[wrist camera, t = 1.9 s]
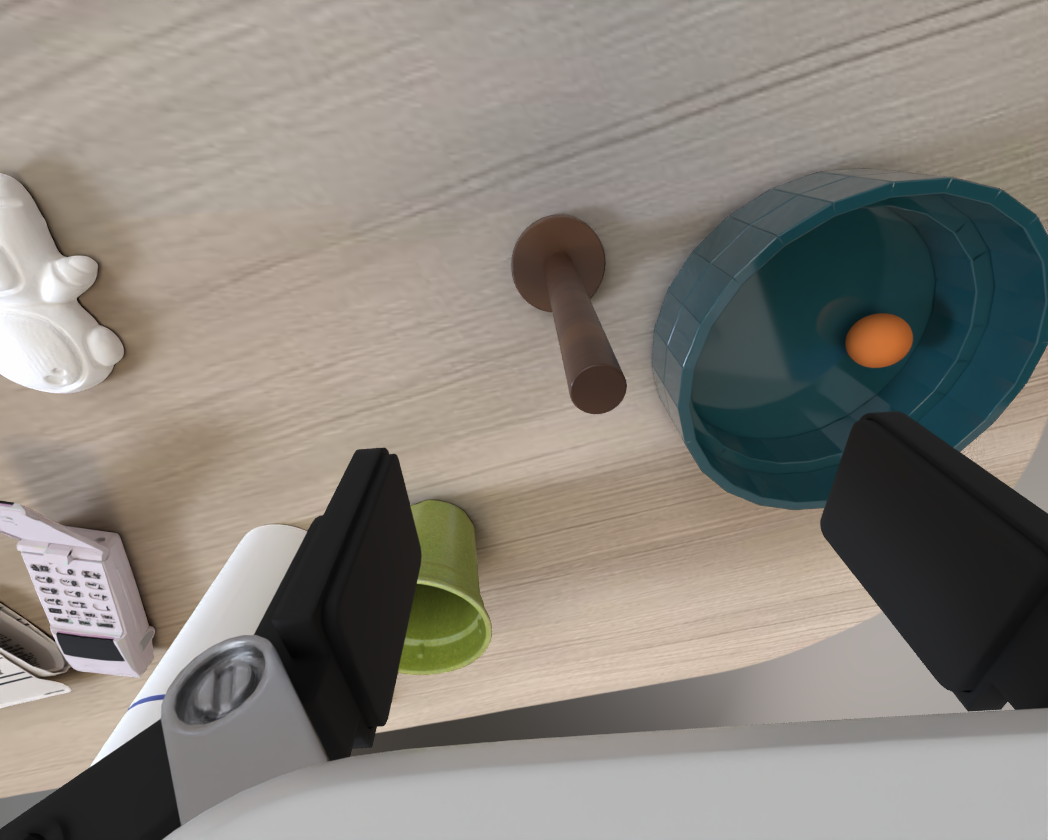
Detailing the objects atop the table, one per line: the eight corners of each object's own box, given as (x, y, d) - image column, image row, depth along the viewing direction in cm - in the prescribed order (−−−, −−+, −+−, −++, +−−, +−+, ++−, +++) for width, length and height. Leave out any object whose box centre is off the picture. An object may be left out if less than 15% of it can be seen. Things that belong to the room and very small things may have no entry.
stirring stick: (507, 218, 25) (500, 310, 12) (604, 210, 24) (699, 295, 12) (515, 311, 27) (516, 468, 15) (602, 304, 27) (679, 456, 14)
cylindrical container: (229, 522, 35) (-210, 1123, 14) (326, 525, 36) (42, 1117, 14) (252, 586, 39) (-67, 1138, 18) (340, 589, 39) (131, 1133, 18)
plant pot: (474, 582, 39) (465, 687, 32) (360, 555, 37) (322, 660, 30) (514, 501, 35) (514, 602, 27) (386, 465, 33) (349, 563, 25)
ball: (842, 307, 27) (876, 326, 24) (895, 304, 27) (936, 322, 24) (828, 356, 28) (859, 378, 26) (879, 353, 28) (915, 375, 26)
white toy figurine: (78, 183, 23) (24, 189, 21) (139, 394, 30) (103, 419, 27) (-120, 149, 22) (-203, 152, 20) (-14, 374, 29) (-67, 398, 26)
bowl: (662, 182, 24) (702, 196, 19) (1009, 154, 23) (1148, 161, 18) (641, 458, 33) (665, 518, 28) (893, 441, 32) (964, 499, 27)
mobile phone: (25, 508, 27) (123, 733, 39) (105, 448, 32) (169, 665, 44) (-95, 491, 26) (44, 726, 38) (6, 433, 31) (99, 657, 44)
